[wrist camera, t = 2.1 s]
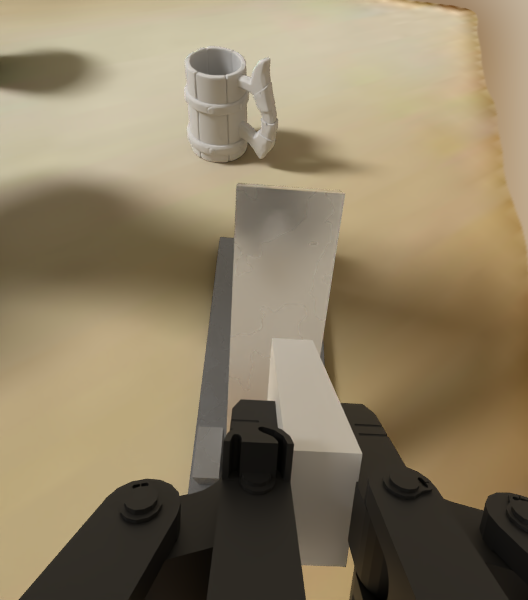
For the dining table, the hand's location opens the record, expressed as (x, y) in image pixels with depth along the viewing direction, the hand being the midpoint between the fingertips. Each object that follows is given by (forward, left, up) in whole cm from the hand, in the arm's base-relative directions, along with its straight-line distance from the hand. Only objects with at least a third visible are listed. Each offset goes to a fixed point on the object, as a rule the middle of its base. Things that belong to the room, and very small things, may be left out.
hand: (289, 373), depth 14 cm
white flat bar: (-2, +4, -7) cm, 8 cm away
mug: (-21, +29, -17) cm, 39 cm away
